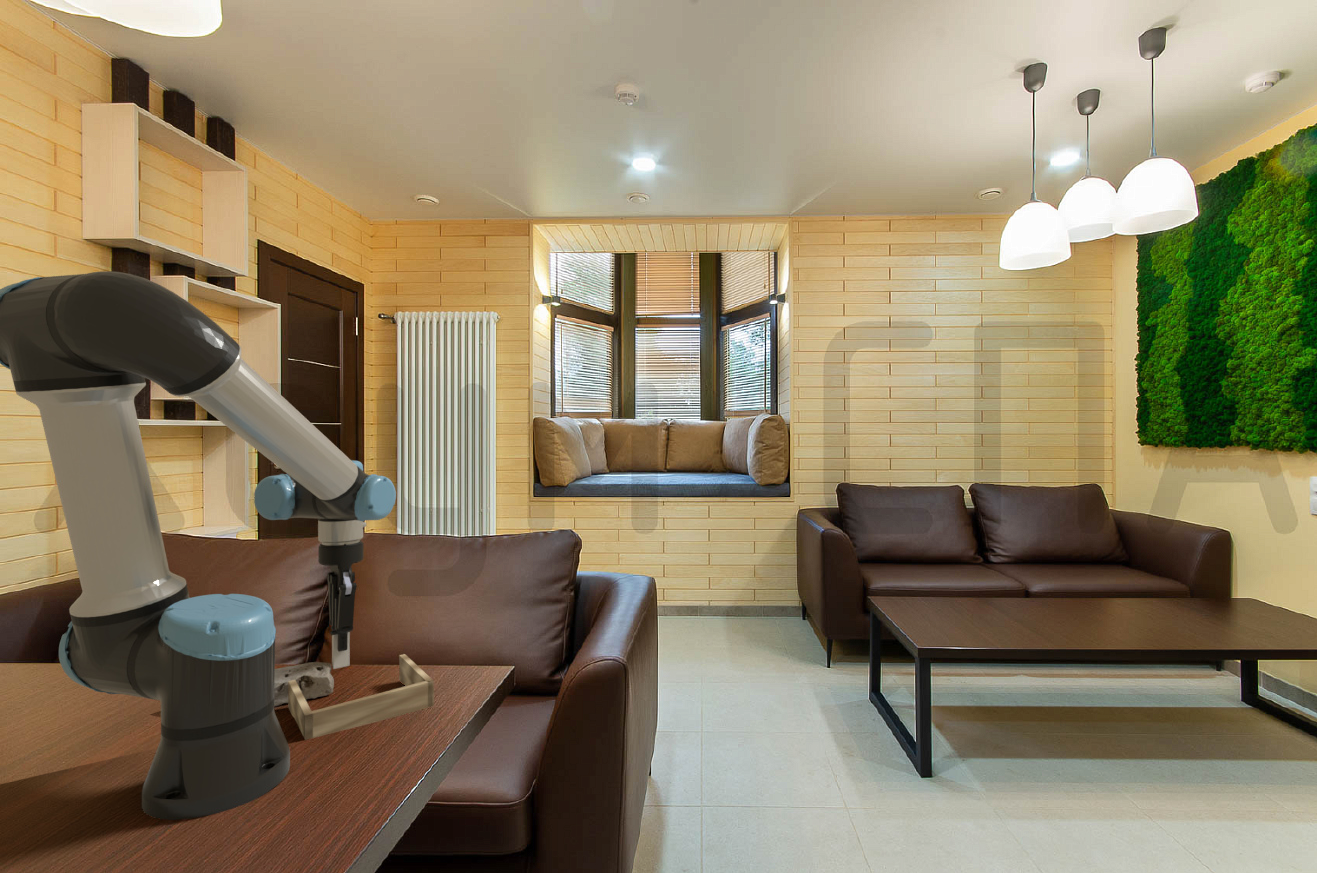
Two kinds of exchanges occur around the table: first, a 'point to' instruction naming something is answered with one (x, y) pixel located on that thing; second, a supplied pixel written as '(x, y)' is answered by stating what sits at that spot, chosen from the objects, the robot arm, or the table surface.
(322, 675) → the stone
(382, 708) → the bracket
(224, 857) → the table surface
